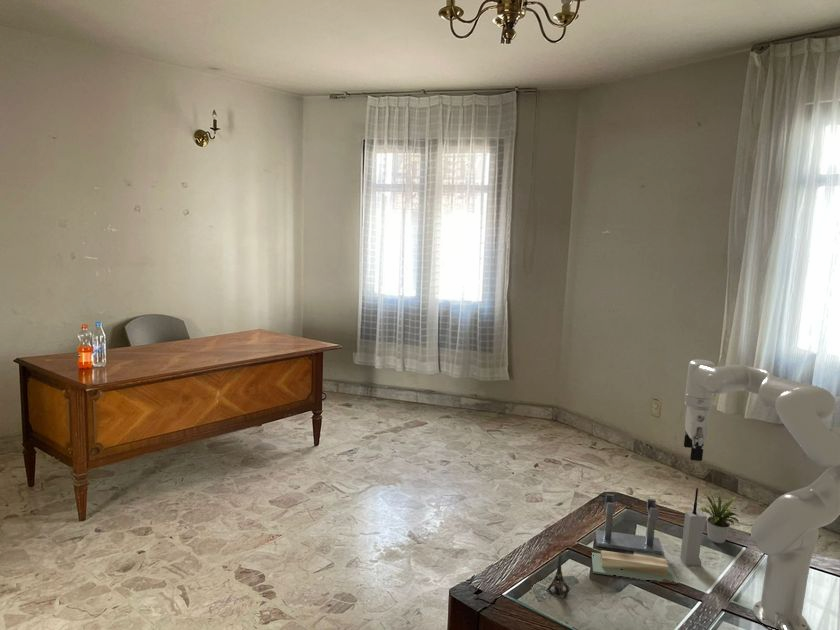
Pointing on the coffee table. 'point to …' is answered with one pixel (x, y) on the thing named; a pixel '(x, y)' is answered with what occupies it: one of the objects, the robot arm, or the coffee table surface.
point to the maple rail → (634, 562)
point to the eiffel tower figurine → (554, 584)
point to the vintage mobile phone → (692, 535)
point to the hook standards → (628, 540)
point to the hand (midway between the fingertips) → (692, 453)
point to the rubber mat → (627, 573)
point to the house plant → (719, 519)
